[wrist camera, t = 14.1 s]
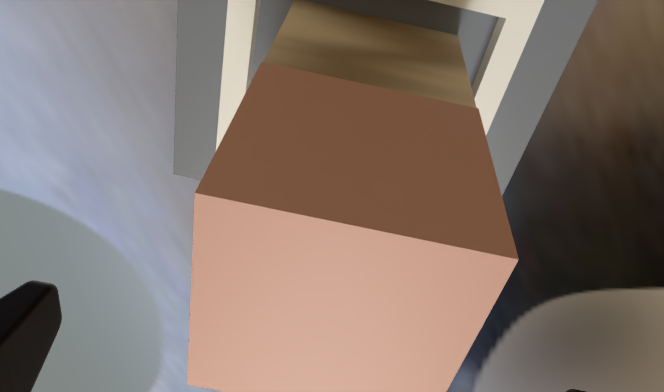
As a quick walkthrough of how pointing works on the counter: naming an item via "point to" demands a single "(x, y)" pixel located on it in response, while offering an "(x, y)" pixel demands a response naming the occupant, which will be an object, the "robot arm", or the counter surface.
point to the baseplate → (394, 4)
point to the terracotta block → (344, 240)
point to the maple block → (372, 52)
